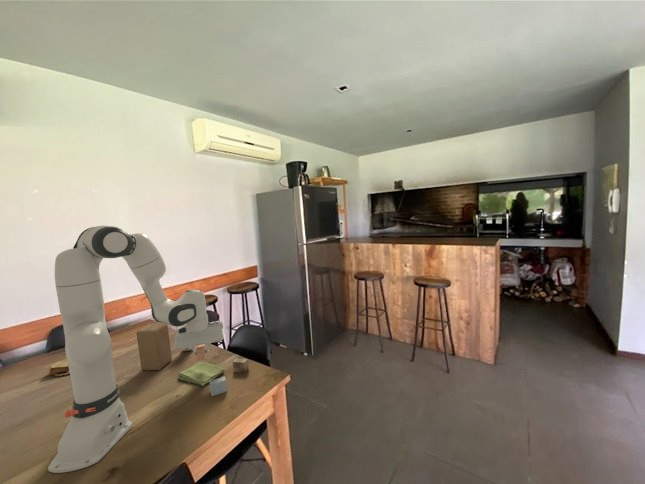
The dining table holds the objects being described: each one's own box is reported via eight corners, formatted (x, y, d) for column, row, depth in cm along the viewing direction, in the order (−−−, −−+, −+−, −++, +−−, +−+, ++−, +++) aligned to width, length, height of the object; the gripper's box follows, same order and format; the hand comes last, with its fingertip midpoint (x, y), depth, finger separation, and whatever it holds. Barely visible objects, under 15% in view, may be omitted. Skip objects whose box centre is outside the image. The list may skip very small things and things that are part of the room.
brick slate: (225, 387, 116) (224, 376, 115) (227, 391, 113) (225, 379, 113) (210, 392, 113) (209, 381, 113) (211, 396, 110) (210, 385, 110)
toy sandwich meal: (77, 374, 134) (76, 365, 134) (44, 380, 131) (42, 370, 130) (92, 361, 146) (90, 353, 146) (61, 366, 143) (60, 357, 143)
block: (173, 359, 142) (168, 322, 140) (159, 370, 132) (154, 331, 130) (155, 359, 143) (150, 323, 141) (140, 370, 133) (135, 331, 131)
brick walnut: (248, 369, 129) (247, 359, 128) (245, 372, 126) (244, 362, 125) (236, 368, 130) (235, 358, 130) (233, 372, 127) (232, 361, 127)
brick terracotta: (204, 359, 124) (203, 348, 123) (197, 360, 123) (196, 350, 122) (206, 352, 129) (205, 342, 129) (199, 354, 128) (198, 344, 128)
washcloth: (203, 389, 116) (202, 381, 116) (176, 380, 124) (175, 373, 124) (227, 372, 128) (226, 365, 128) (200, 365, 136) (200, 358, 136)
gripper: (222, 317, 130) (226, 345, 132) (175, 325, 124) (179, 354, 126) (221, 322, 124) (225, 351, 126) (171, 331, 118) (175, 361, 120)
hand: (201, 353), depth 126 cm, fingers closed on brick terracotta, 3 cm apart
